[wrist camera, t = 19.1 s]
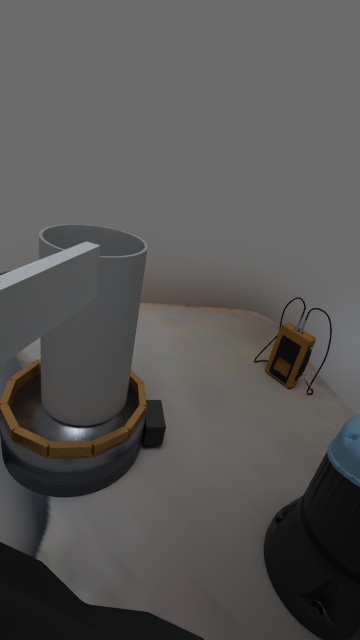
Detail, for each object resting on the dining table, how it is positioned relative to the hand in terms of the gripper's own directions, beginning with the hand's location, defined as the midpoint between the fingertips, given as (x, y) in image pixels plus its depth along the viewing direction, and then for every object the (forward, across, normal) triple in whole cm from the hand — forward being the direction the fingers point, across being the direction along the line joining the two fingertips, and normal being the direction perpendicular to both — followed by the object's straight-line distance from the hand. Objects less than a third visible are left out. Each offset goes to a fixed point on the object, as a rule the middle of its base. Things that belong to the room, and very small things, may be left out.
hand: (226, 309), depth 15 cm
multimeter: (+58, +15, -38) cm, 71 cm away
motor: (+21, -18, -38) cm, 47 cm away
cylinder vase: (+22, -19, -31) cm, 42 cm away
